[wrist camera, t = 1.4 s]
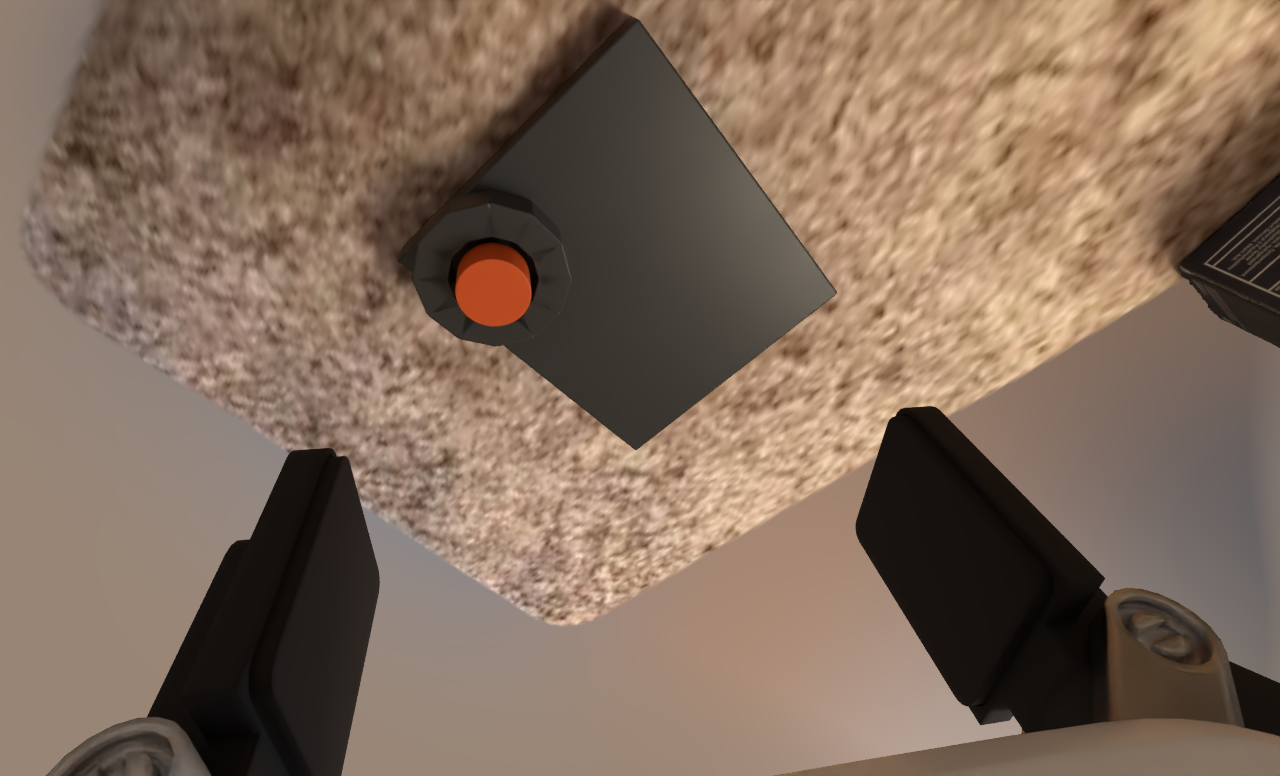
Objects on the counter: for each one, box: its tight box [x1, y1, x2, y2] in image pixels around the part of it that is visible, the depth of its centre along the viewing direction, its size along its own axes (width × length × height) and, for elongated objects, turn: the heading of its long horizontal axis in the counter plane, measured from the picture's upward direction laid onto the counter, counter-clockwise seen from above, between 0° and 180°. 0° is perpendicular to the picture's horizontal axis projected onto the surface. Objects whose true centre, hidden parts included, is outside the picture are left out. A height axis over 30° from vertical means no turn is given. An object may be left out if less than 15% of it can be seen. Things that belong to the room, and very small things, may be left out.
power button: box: [455, 243, 531, 326], centre depth 23 cm, size 3×3×2 cm
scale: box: [399, 16, 837, 450], centre depth 26 cm, size 14×12×3 cm
